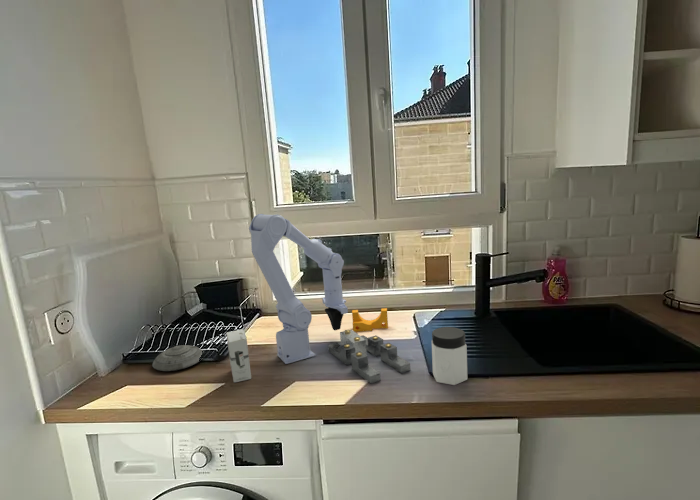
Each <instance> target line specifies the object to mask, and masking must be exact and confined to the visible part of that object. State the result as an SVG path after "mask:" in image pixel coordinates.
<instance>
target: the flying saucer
mask: <svg viewBox="0 0 700 500" xmlns="http://www.w3.org/2000/svg"><path fill="white" fill-rule="evenodd" d="M202 351H203V350H202V349H201V348H199V347H198V346H195V345H190V344H189V345H188V344H183V345H182V344H181V345H175V346H173V347H170V348H166V349H165V350H164V351H162V352H160V353H159V354H158V355H157V356H156V357H155V358H154V360H153V361H152V365H151V366H152V368H153V369H154V370H157V371H162V372H172V371H173V372H175V371H178V370H184V369H186V368H189V367H192V366H193V365H196V364H198V363H199V362H200V361H199V358H200V357H201V355H202Z"/></svg>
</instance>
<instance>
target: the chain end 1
mask: <svg viewBox="0 0 700 500" xmlns="http://www.w3.org/2000/svg"><path fill="white" fill-rule="evenodd" d="M360 336H361V337H362V338H364V339H365V340H366V352H368V353H370V354H371V355H373V356H374V357H378V356H381V352H380V345H382V344H384V338H381V337H380V336H378V335H373V336H369V337H367V336H365V335H360ZM327 349H328V352H329V353H330V354H332V355H333V356H334V357H336V359H338V360H340V361H341V362H342V363H343V364H344V365H346V366H350V365H352V363H351V354H352V353H355V347H353V346H352V345H350V344H349V343H347V344H344V345H341V343H338V342H335V343H331V344H328V345H327Z"/></svg>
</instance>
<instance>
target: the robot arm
mask: <svg viewBox="0 0 700 500" xmlns="http://www.w3.org/2000/svg"><path fill="white" fill-rule="evenodd" d="M248 230H249V232H250V235H251V236H250V237H251V238H250V240H251V241H250V242H251V243H250V244H251V245H250V246H251V253H252V255H253V257H254V259H255V262H256V264H257V265H258V267H259V269H260V272H261V273H262V274H263V277H264V279H265V280H266V282H267V285H268V286H269V288H270V290H271V292H272V294H273V297H274V298H275V301H276V302H277V304H276V305H275V308H276V310H277V318H278V320H279V322H281V323H282V329H281V330H279V331H276V333H275V338H276V339H275V341H276V348H277V351H276V352H277V354H276V355H277V357H278V358H279V359H280V360H281V361H282V362H283V363H284V364H285V365H287V364H292V363H295V362H298V361H302V360H305V359H309V358H313V357H315V356H316V354H315V353H314V352H313V351H312V350H311V347H310V345H311V344H310V337H309V327H310V325H311V322H312V313H311V311H310V309H308V308H307V307H306V306H305V304H304V303H303V302H302V301H301V300H300V299H299V298H298V297H296V295H295V293H294V291H293V289H292V286H291V285H290V283H289V280H288V279H287V276H286V274H285V272H284V270H283V268H282V267H281V264H280V262H279V259H278V258H277V256H276V254H275V252H274V250H275V248H276V246H277V245H278V243H279V242H280V240H282V238H283V237H285V238H287V239H289V241H291V242H293V243H294V244H296V245H298V246H300V247H301V248H303V254H304V255H305V256H306V257H308V258H310V259H311V260H312V261H314V262H315V263H317V266H318V268H320V269H322V281H323V290H324V292H323V293H324V297H321V298H322V305H324V306H325V307H326V308H324V311H325V313H326V315H327V317H328V319H329V322H330V325H331V328H332V330H333V331H338V330H341V327H342V321H343V318H344V314H348V313H349V311H348V310H349V309H348V307H347V305H346V303H347V300H346V299H344V297H343V296H344V295H343V286H342V285H343V283H342V282H343V281H342V274H343V273H342V272H343V271H342V270H343V268H344V264H345V260H344V259H343V257H342V255H340V253H336V252H333V250H332V248H331V247H327V246H326V245H325V244H323V240H322V239H320V238H319V239H318V238H312V239H310V238H309V237H308V236H307V235H306V234H304V232H302V231H301V230H299V229H298V228H297V227H296V226H295V225H294V224H293V223H292V222H291V220H289V219H287V218H285V217H284V216H283V215H281V214H264V213H258V214H256V215H254V217H253V218H252V220H251V221H250V224H249V226H248Z"/></svg>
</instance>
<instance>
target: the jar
mask: <svg viewBox="0 0 700 500" xmlns="http://www.w3.org/2000/svg"><path fill="white" fill-rule="evenodd" d="M431 337H432V338H431V360H432V363H431V364H432V365H431V366H432V375H433V377H434V380H435V382H436V383H441V384H444V385H445V384H446V385H452V386H456V385H458V384H460V383H462V382H463V383H464V382H465V381H467V380H468V350H467V348H468V346H467V344H466V331H464V330H463V329H461V328H457V327H453V326H442V327H438V328H435V329H433V331H432V332H431Z"/></svg>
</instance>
